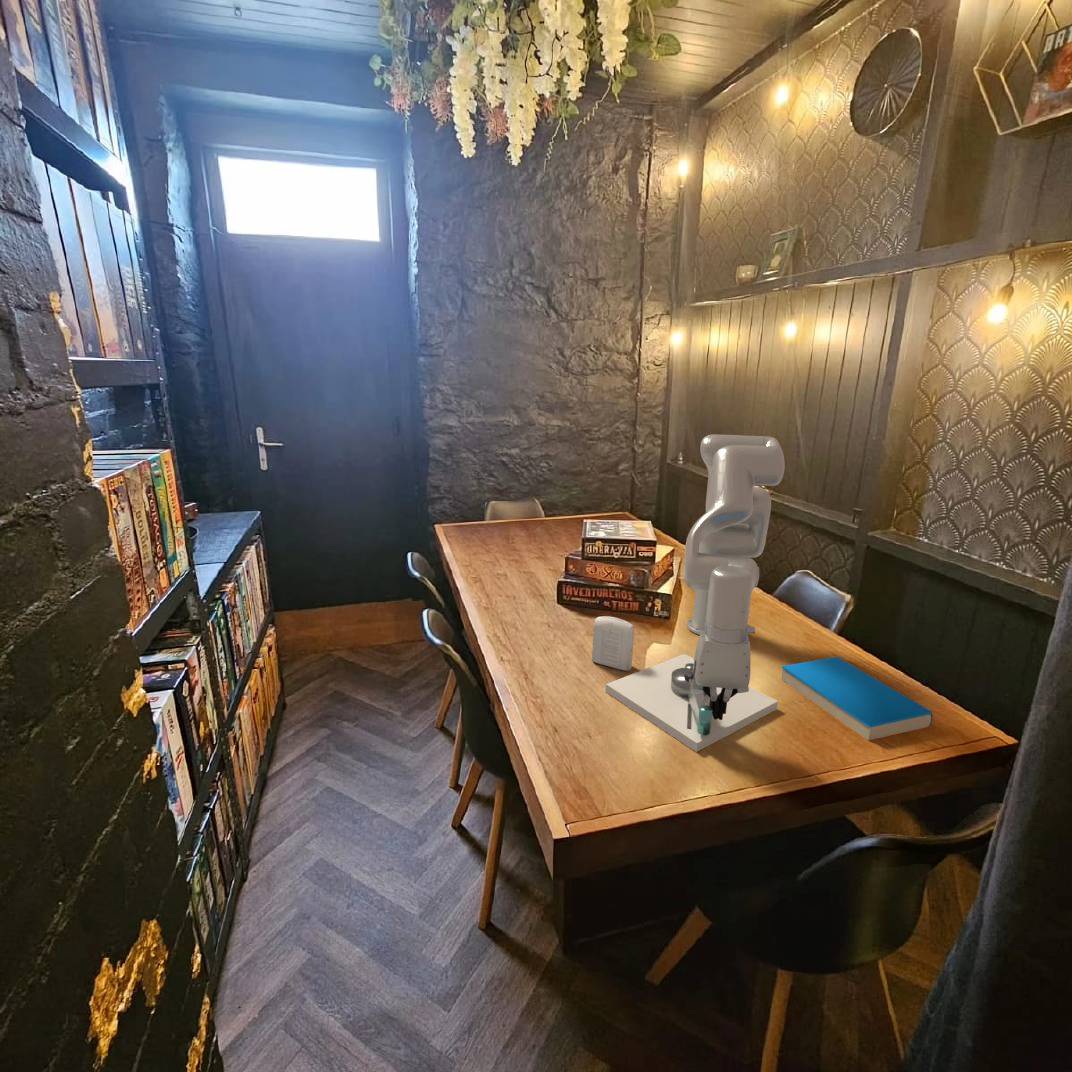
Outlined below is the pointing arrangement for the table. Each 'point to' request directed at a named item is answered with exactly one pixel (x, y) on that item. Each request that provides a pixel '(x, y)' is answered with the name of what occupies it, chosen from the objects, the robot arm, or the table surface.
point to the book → (856, 698)
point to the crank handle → (692, 697)
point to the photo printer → (613, 642)
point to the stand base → (685, 704)
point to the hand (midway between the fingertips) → (716, 715)
